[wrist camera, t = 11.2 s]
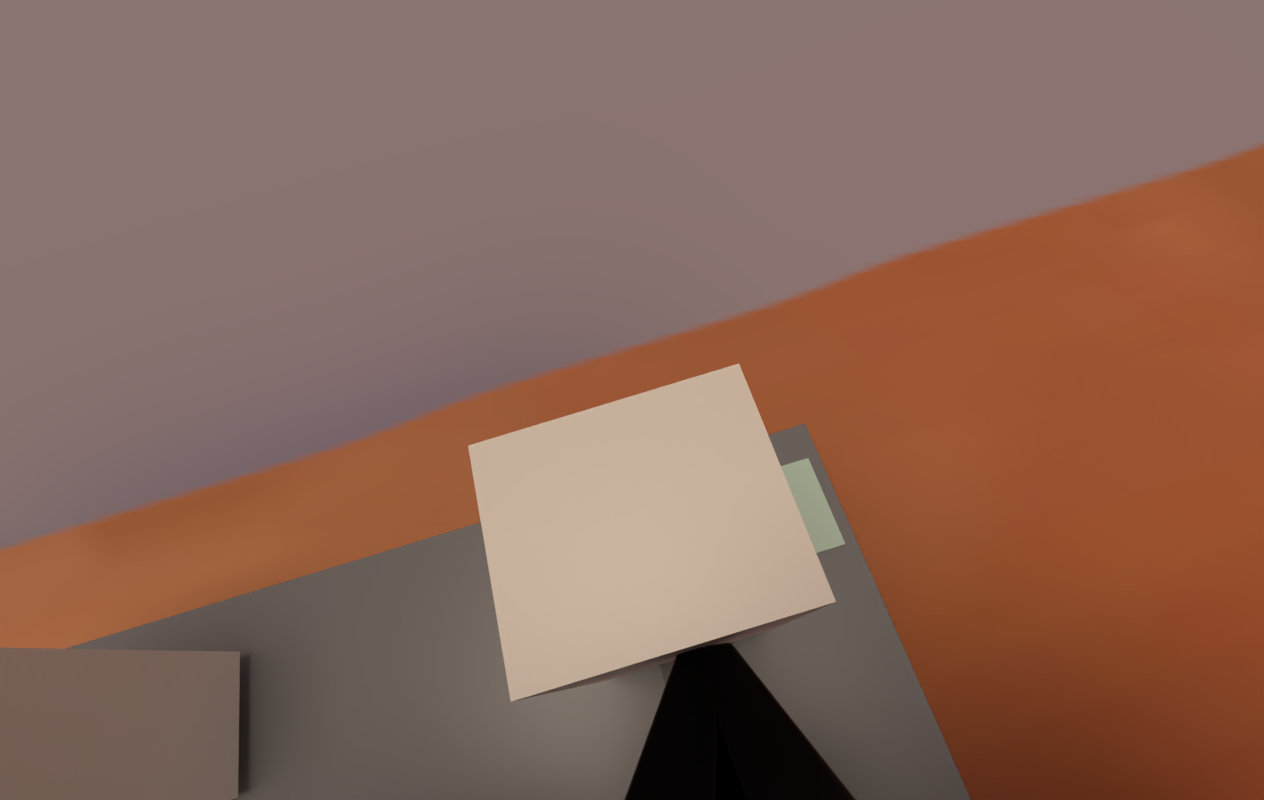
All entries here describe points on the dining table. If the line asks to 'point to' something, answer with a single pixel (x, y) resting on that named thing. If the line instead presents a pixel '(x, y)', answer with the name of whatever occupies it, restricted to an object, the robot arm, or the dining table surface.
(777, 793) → the robot arm
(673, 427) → the block
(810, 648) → the switch block
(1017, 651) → the dining table surface
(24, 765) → the switch tab
